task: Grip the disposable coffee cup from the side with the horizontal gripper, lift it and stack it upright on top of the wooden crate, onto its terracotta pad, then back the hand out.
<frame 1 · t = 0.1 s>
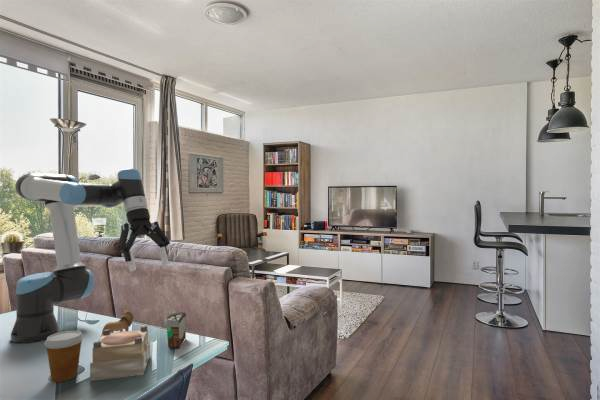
hand: (150, 267, 131), 28 cm above the table, tool tilted 20°, fingers open, 13 cm apart
disposable coffee cup: (64, 377, 108), on the table
food container: (173, 344, 133), on the table
lion figurine: (117, 338, 140), on the table
wooden crate: (122, 367, 114), on the table
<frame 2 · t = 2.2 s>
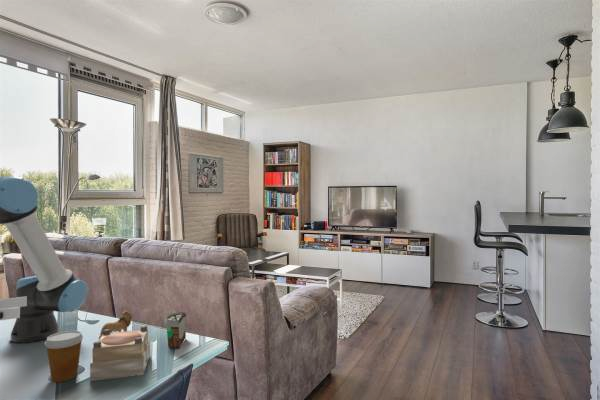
hand: (23, 306, 103), 22 cm above the table, tool horizontal, fingers open, 13 cm apart
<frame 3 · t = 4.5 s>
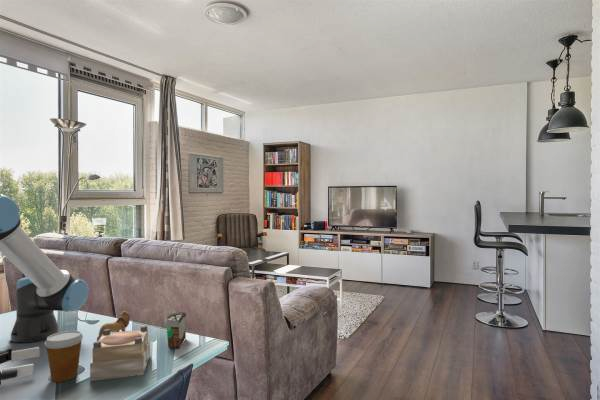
hand: (36, 359, 104), 7 cm above the table, tool horizontal, fingers open, 13 cm apart
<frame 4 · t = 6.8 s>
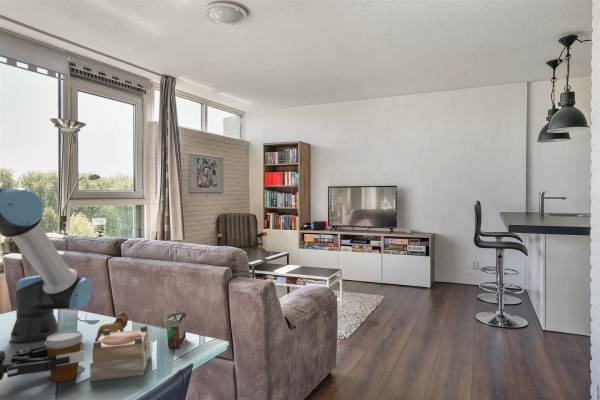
hand: (83, 350, 110), 7 cm above the table, tool horizontal, fingers closed on disposable coffee cup, 8 cm apart
disposable coffee cup: (64, 377, 108), on the table, touching gripper
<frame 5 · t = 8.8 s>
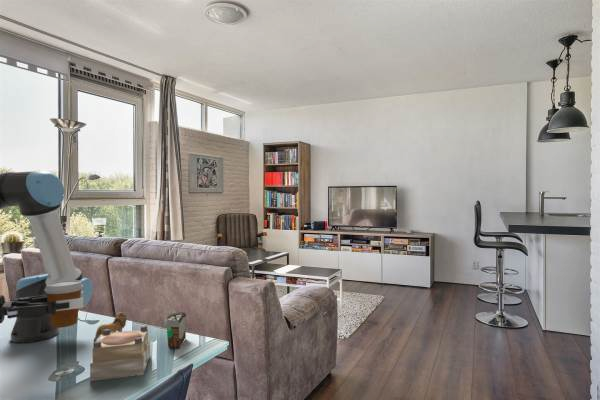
hand: (83, 299, 111), 22 cm above the table, tool horizontal, fingers closed on disposable coffee cup, 8 cm apart
disposable coffee cup: (64, 325, 108), point 15 cm above the table, touching gripper
when the fingers open (17 cm above the table, at t = 11.0 s): disposable coffee cup drops 1 cm, resting on wooden crate.
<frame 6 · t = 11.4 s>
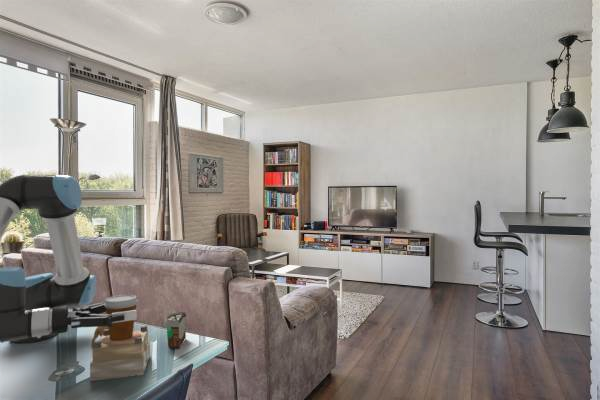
hand: (134, 309, 116), 17 cm above the table, tool horizontal, fingers open, 12 cm apart
disposable coffee cup: (121, 337, 114), point 9 cm above the table, touching wooden crate
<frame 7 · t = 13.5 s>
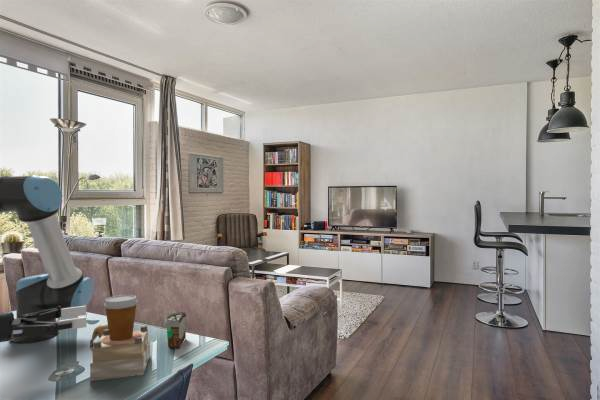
hand: (86, 315, 109), 17 cm above the table, tool horizontal, fingers open, 13 cm apart
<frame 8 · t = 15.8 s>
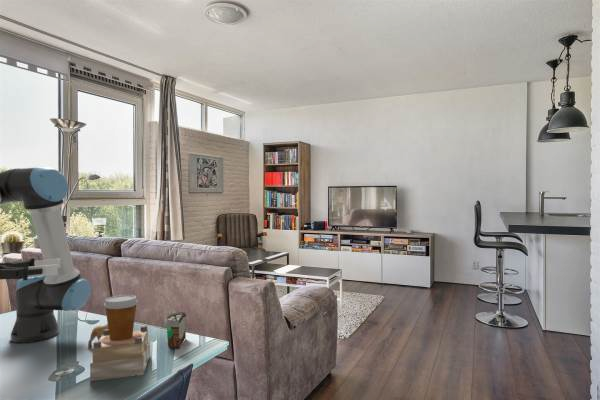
hand: (59, 266, 109), 32 cm above the table, tool horizontal, fingers open, 13 cm apart
at the end: disposable coffee cup inside the target area on the wooden crate (0.2 cm from its centre), point 9.0 cm above the wooden crate's base; disposable coffee cup tilted 0°; the gripper is holding nothing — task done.
